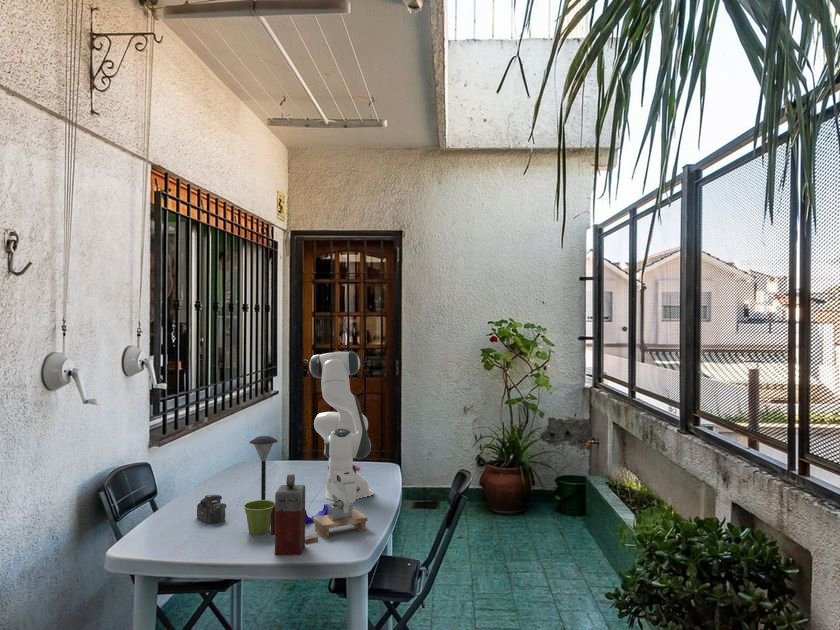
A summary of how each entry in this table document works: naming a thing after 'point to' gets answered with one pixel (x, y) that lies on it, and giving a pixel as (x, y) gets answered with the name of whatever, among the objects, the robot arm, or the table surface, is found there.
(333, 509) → the housing
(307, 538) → the tan wooden block
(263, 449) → the solar garden light
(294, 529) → the red grey canister
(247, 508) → the plant pot
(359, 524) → the stand
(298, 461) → the table surface
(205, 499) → the camera
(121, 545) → the table surface
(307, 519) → the blue curved block
